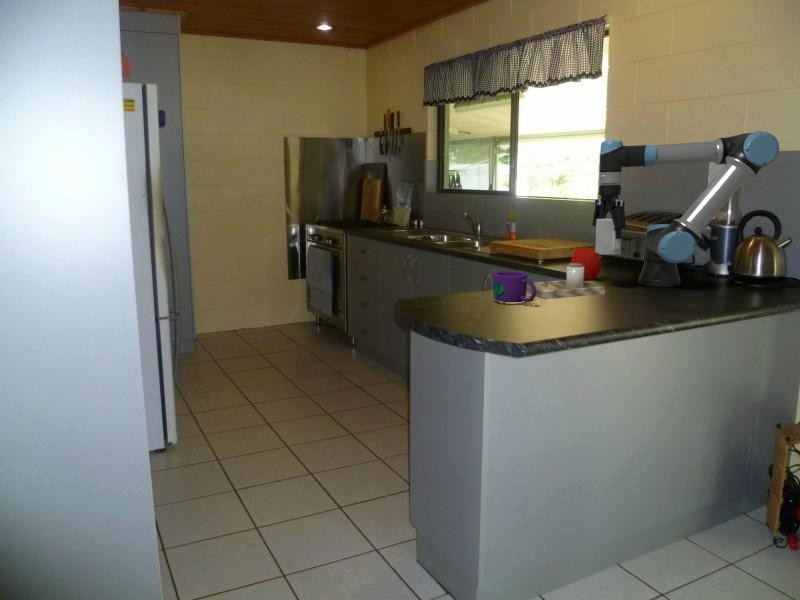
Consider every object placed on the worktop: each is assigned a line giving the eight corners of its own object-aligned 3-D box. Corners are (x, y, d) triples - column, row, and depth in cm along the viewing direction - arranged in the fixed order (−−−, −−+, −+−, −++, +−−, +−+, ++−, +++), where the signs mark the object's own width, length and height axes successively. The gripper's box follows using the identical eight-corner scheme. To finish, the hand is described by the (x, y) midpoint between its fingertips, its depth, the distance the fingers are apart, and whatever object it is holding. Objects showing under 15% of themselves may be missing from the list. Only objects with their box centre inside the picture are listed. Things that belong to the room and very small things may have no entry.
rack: (575, 288, 244) (575, 279, 243) (604, 296, 227) (605, 287, 227) (516, 293, 235) (517, 283, 235) (543, 302, 219) (543, 292, 218)
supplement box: (621, 254, 234) (622, 219, 232) (600, 255, 234) (601, 220, 232) (614, 251, 242) (615, 217, 239) (594, 252, 242) (595, 218, 239)
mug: (485, 301, 221) (486, 273, 219) (509, 297, 228) (509, 269, 226) (523, 310, 207) (524, 279, 205) (547, 305, 214) (548, 275, 212)
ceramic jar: (576, 289, 237) (577, 262, 235) (586, 291, 231) (587, 264, 229) (562, 290, 235) (563, 263, 233) (572, 293, 229) (573, 265, 227)
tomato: (590, 277, 267) (591, 243, 264) (606, 282, 256) (608, 246, 254) (563, 279, 263) (564, 245, 260) (579, 284, 253) (581, 248, 250)
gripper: (583, 184, 242) (581, 244, 246) (621, 185, 222) (618, 250, 226) (600, 183, 244) (598, 243, 249) (638, 184, 224) (636, 248, 229)
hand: (607, 246), depth 237 cm, fingers closed on supplement box, 9 cm apart
